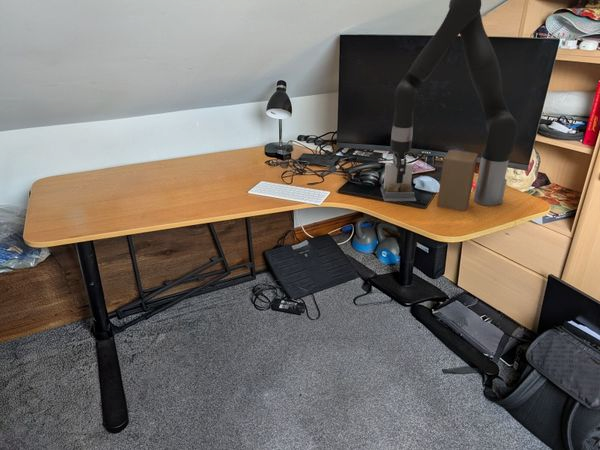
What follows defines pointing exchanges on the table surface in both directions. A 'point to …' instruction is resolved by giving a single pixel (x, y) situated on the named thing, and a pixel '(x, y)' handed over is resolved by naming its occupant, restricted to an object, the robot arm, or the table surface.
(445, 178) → the wooden block
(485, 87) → the robot arm
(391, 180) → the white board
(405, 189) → the walnut offcut
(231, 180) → the table surface
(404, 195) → the charcoal rack
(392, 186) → the oak offcut
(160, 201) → the table surface
